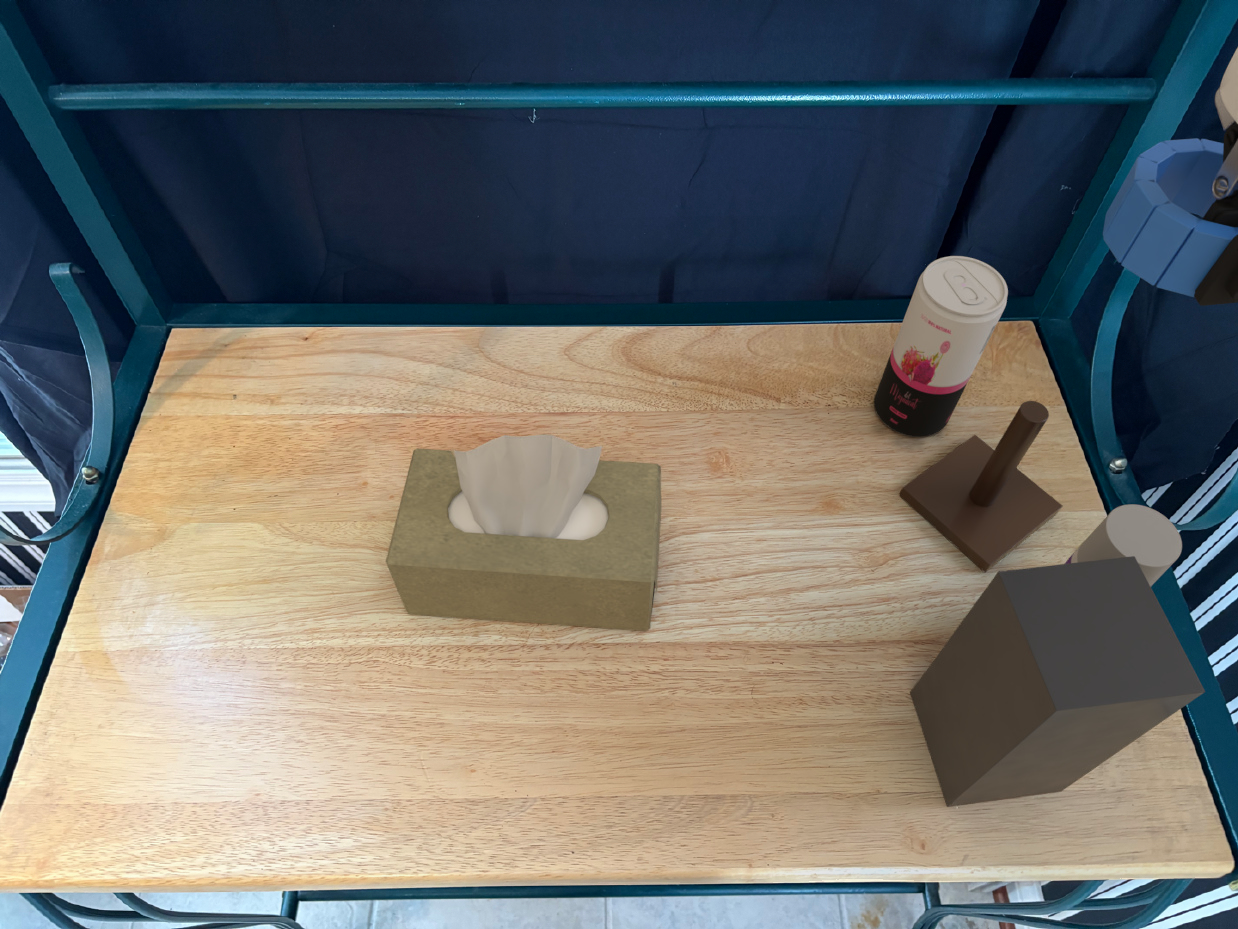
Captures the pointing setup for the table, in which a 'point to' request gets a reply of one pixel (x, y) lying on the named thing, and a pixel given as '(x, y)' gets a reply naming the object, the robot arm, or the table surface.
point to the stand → (986, 492)
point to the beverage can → (939, 344)
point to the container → (1133, 540)
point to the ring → (1169, 215)
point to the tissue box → (528, 535)
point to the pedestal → (1050, 680)
